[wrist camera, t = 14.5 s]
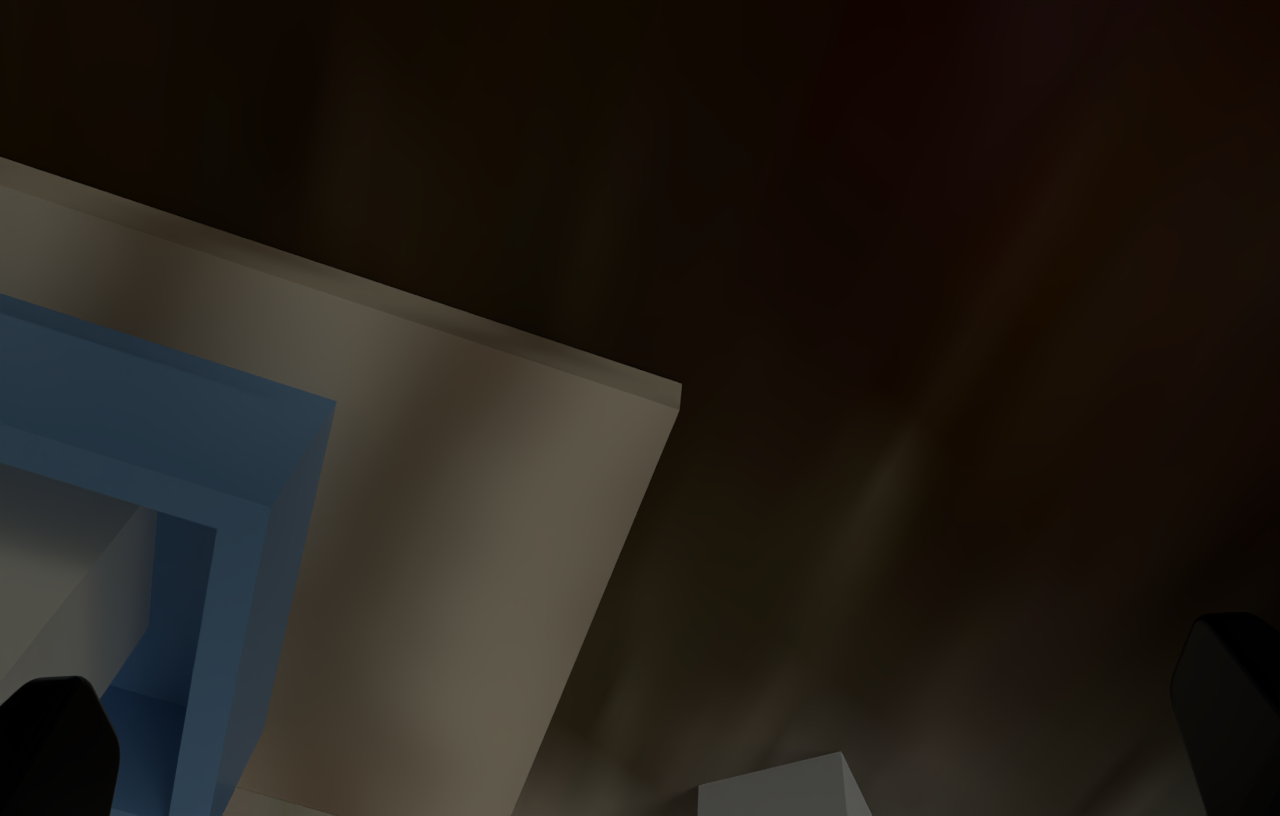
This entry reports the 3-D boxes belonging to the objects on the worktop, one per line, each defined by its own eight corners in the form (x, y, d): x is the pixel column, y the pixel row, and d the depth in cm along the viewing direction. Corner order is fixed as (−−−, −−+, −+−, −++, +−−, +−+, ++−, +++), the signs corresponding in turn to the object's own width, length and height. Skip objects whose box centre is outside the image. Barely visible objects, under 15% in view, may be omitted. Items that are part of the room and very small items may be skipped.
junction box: (337, 401, 22) (270, 507, 19) (263, 731, 26) (201, 858, 23) (-171, 238, 21) (-327, 322, 18) (-152, 610, 26) (-271, 727, 23)
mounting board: (682, 383, 22) (679, 409, 21) (500, 827, 29) (492, 860, 28) (-494, -8, 20) (-550, 3, 19) (-382, 573, 27) (-419, 600, 26)
